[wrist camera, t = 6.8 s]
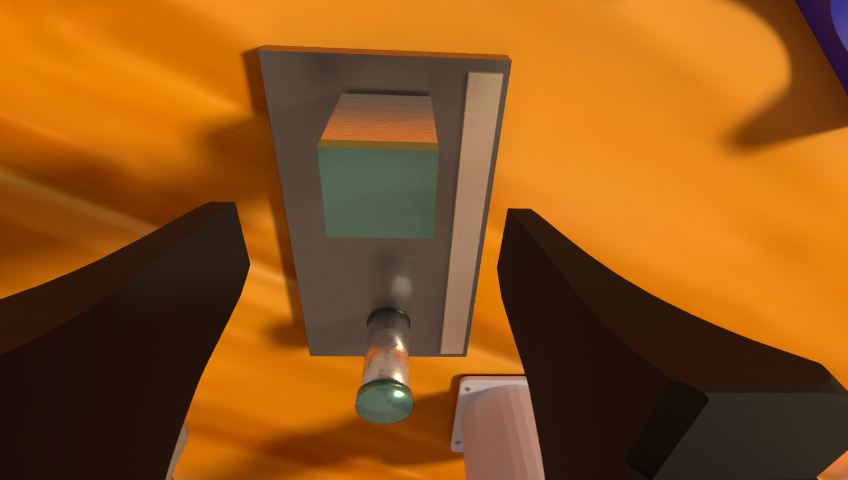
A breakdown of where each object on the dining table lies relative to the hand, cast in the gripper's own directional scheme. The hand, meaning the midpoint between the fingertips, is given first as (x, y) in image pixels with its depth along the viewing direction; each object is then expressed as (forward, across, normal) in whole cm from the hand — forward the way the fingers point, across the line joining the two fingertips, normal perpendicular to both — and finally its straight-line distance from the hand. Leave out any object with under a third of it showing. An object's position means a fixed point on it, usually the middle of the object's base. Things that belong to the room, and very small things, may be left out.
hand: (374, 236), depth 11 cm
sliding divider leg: (+8, 0, 0) cm, 8 cm away
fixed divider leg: (+9, 0, +12) cm, 15 cm away
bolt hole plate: (+9, 0, +6) cm, 11 cm away
